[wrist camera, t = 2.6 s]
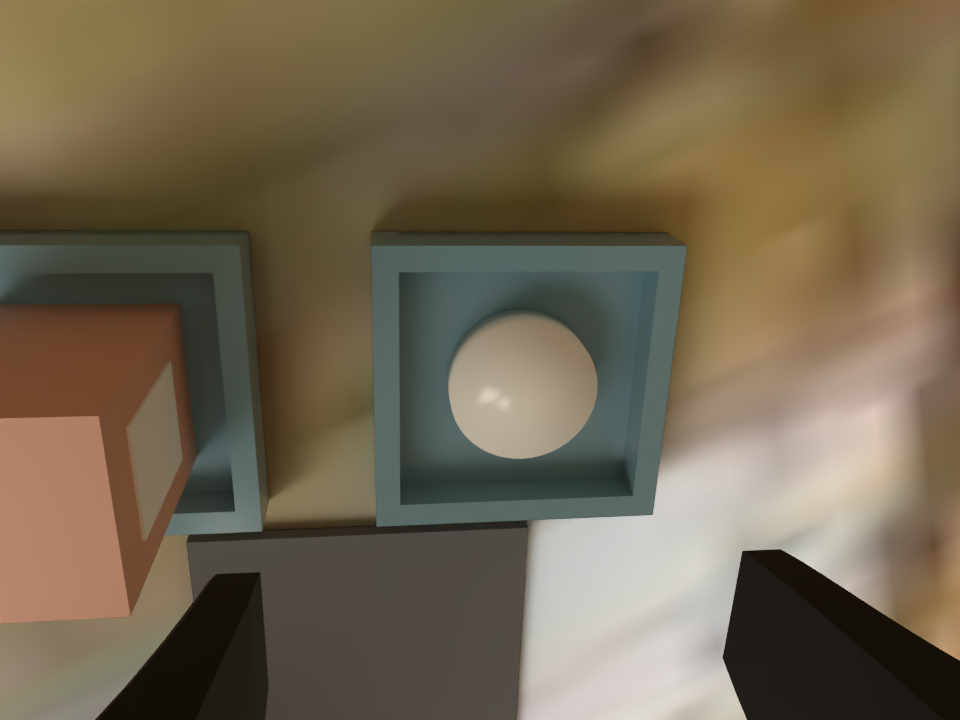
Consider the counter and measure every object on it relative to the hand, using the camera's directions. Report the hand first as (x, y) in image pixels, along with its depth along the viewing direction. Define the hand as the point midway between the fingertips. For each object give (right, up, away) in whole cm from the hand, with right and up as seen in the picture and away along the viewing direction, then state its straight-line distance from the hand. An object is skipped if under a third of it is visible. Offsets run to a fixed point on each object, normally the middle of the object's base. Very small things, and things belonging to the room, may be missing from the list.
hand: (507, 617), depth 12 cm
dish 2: (+1, +4, +9) cm, 9 cm away
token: (+1, +3, +8) cm, 9 cm away
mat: (-4, -5, +12) cm, 13 cm away
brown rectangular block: (-9, +3, +7) cm, 12 cm away
